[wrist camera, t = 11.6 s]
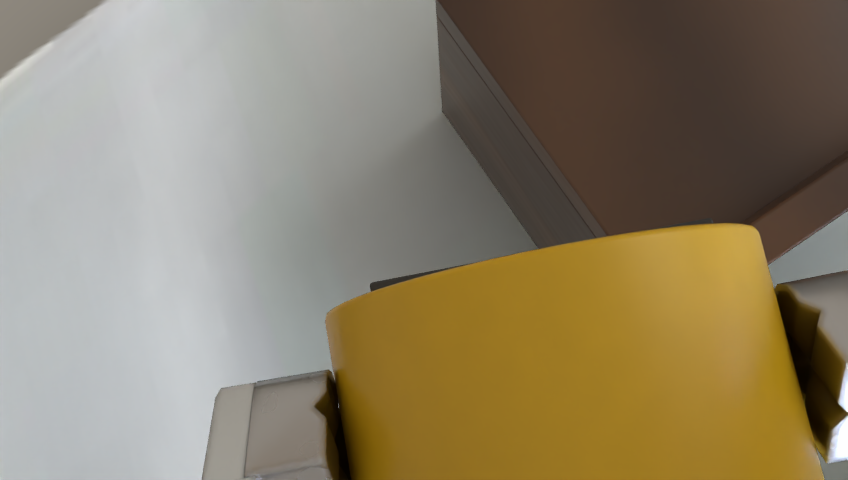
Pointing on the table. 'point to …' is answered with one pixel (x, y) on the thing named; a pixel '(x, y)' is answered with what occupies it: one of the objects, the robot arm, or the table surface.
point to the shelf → (653, 112)
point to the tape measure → (577, 366)
